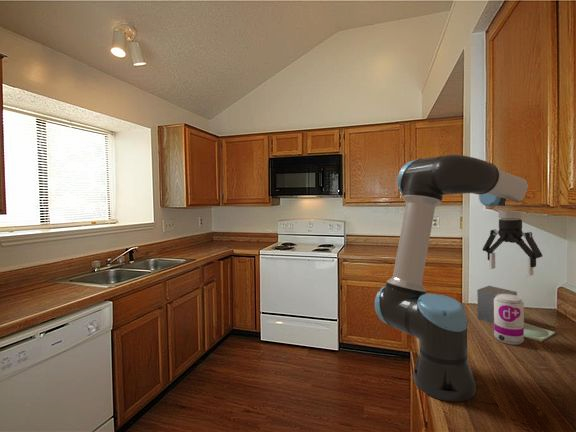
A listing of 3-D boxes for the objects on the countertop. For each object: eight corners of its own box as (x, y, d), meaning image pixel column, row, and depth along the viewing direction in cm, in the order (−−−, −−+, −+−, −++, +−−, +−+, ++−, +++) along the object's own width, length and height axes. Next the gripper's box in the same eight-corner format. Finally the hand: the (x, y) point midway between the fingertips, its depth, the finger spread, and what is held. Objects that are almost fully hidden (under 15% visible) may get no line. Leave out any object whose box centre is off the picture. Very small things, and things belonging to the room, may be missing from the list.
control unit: (506, 328, 113) (506, 296, 112) (477, 319, 122) (477, 289, 121) (518, 322, 117) (518, 292, 116) (489, 314, 126) (489, 285, 125)
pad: (540, 341, 102) (540, 339, 102) (507, 330, 111) (507, 328, 111) (554, 333, 107) (554, 331, 107) (522, 323, 116) (522, 321, 116)
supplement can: (523, 348, 99) (523, 302, 98) (493, 341, 104) (492, 298, 103) (523, 337, 106) (523, 295, 105) (494, 332, 111) (494, 291, 110)
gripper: (553, 219, 112) (553, 276, 114) (483, 216, 134) (483, 264, 136) (543, 221, 108) (543, 280, 110) (472, 218, 130) (473, 267, 132)
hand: (510, 271), depth 123 cm, fingers open, 13 cm apart
